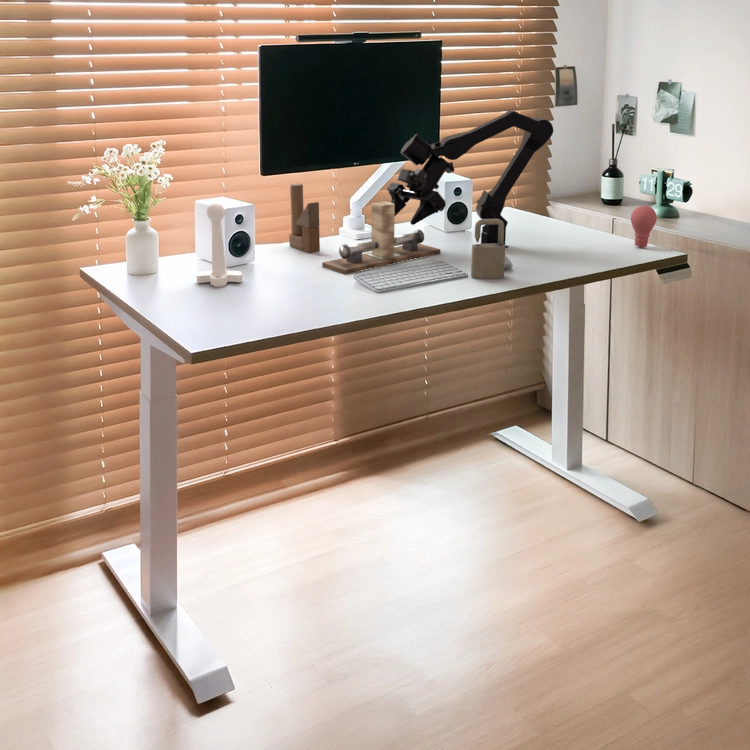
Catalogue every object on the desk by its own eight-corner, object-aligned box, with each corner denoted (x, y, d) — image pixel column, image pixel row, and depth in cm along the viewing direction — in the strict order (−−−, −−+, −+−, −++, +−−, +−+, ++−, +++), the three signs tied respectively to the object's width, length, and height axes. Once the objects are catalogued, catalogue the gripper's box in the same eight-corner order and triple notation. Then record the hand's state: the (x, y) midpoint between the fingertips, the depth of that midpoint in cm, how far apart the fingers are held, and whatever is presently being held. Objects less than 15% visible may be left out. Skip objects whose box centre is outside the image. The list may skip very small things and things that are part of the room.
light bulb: (643, 243, 284) (647, 202, 280) (658, 249, 278) (663, 207, 274) (623, 245, 282) (626, 204, 278) (637, 251, 276) (641, 209, 272)
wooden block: (309, 253, 274) (307, 189, 268) (289, 246, 282) (286, 183, 276) (320, 251, 276) (319, 188, 270) (299, 244, 284) (297, 182, 278)
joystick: (242, 278, 250) (238, 201, 243) (240, 287, 243) (236, 207, 236) (198, 279, 249) (193, 201, 242) (195, 288, 242) (189, 207, 235)
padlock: (470, 275, 253) (472, 217, 248) (501, 274, 254) (504, 217, 248) (473, 279, 249) (475, 221, 244) (504, 278, 250) (507, 220, 244)
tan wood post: (385, 251, 270) (385, 201, 265) (395, 254, 267) (395, 203, 262) (370, 254, 267) (370, 203, 262) (380, 257, 264) (380, 206, 259)
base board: (416, 246, 281) (416, 241, 281) (440, 253, 274) (440, 248, 274) (322, 266, 261) (322, 261, 260) (345, 274, 254) (345, 268, 253)
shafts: (415, 246, 277) (415, 228, 275) (424, 248, 274) (424, 230, 272) (338, 262, 260) (338, 243, 258) (347, 265, 257) (347, 246, 255)
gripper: (391, 153, 271) (362, 198, 268) (438, 161, 258) (407, 208, 255) (412, 178, 279) (383, 222, 276) (459, 187, 265) (429, 233, 263)
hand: (400, 221), depth 267 cm, fingers open, 9 cm apart
